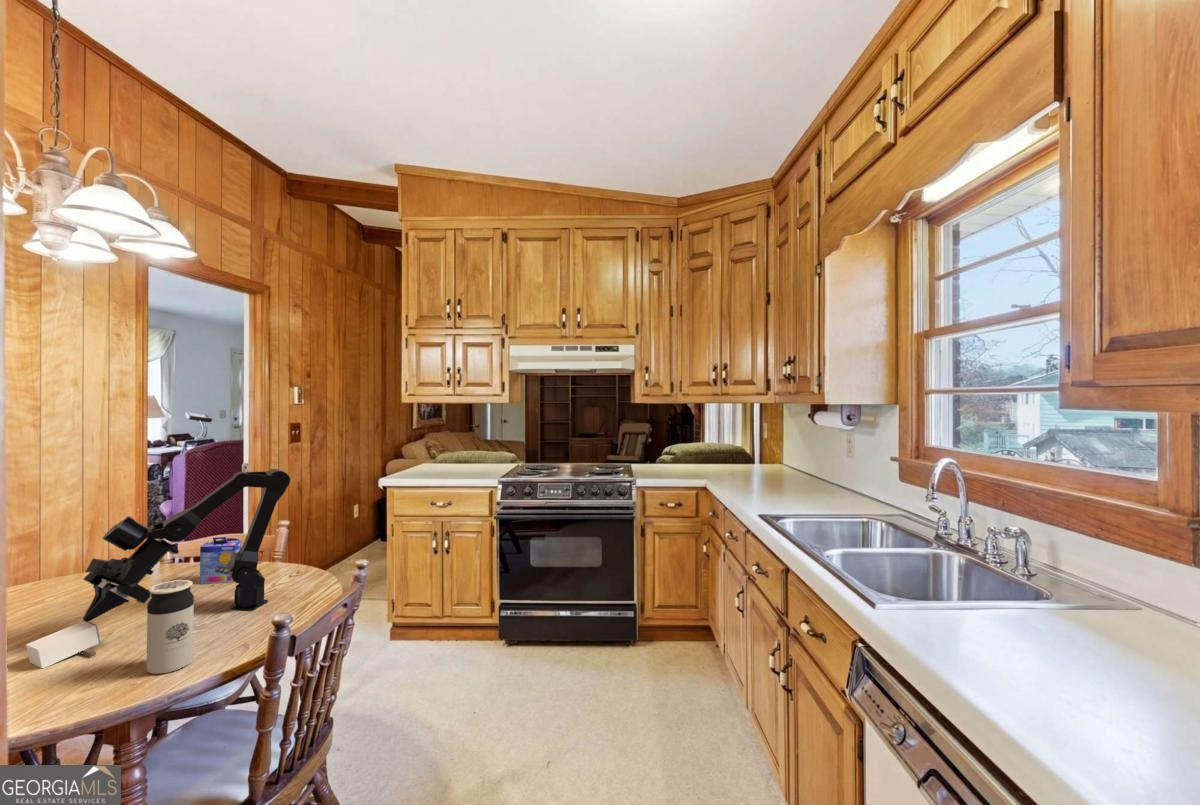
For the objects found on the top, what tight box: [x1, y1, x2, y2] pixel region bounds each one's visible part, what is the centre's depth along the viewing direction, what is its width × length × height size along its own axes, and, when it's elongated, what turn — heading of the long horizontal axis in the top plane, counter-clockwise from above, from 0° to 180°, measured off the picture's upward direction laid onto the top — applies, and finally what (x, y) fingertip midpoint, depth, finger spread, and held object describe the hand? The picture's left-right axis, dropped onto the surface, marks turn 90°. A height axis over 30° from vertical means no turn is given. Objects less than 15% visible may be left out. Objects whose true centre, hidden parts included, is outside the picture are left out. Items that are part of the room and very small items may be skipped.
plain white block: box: [25, 620, 101, 669], centre depth 118 cm, size 4×6×10 cm
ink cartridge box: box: [199, 536, 242, 585], centre depth 166 cm, size 10×6×14 cm, turn 107°
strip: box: [79, 648, 97, 658], centre depth 120 cm, size 1×12×1 cm, turn 67°
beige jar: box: [145, 579, 195, 675], centre depth 115 cm, size 8×8×18 cm
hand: (84, 620), depth 121 cm, fingers closed
